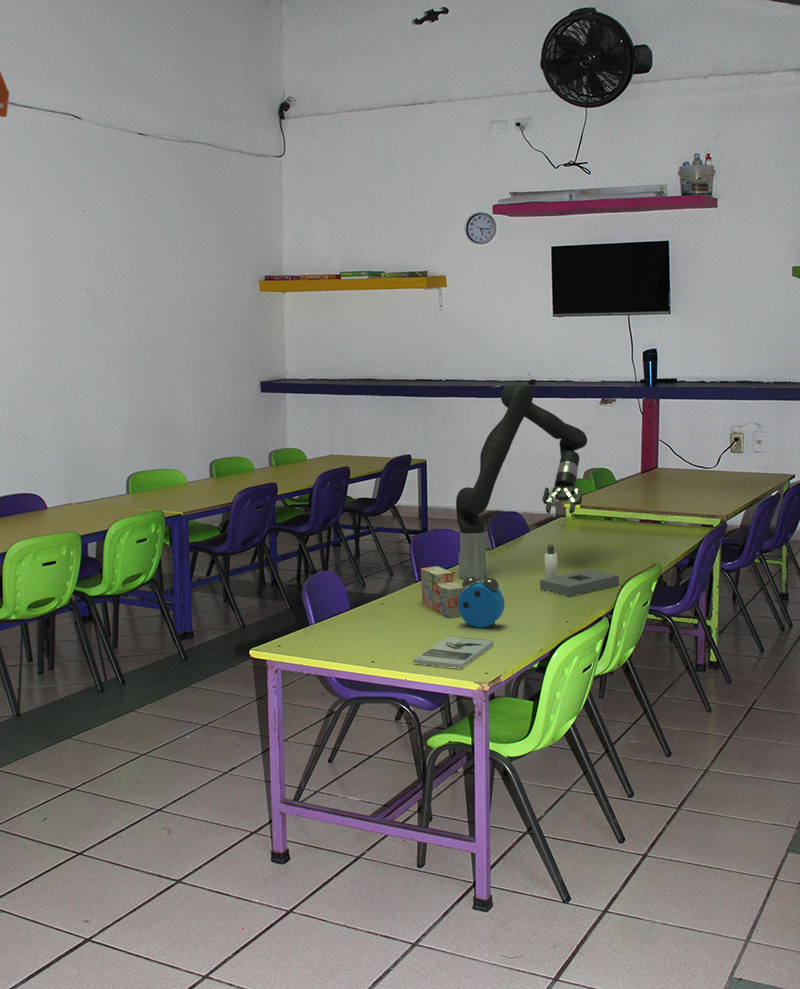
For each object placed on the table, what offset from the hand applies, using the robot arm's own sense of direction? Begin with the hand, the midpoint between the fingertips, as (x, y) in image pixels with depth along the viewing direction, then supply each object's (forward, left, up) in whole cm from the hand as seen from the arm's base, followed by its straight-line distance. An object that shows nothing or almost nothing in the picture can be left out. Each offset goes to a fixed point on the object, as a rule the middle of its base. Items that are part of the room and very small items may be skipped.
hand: (559, 512), depth 362 cm
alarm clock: (-67, -35, -23) cm, 79 cm away
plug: (-11, -7, -23) cm, 26 cm away
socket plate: (-11, -21, -23) cm, 33 cm away
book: (-91, -52, -23) cm, 107 cm away
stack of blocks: (-63, -11, -23) cm, 68 cm away
